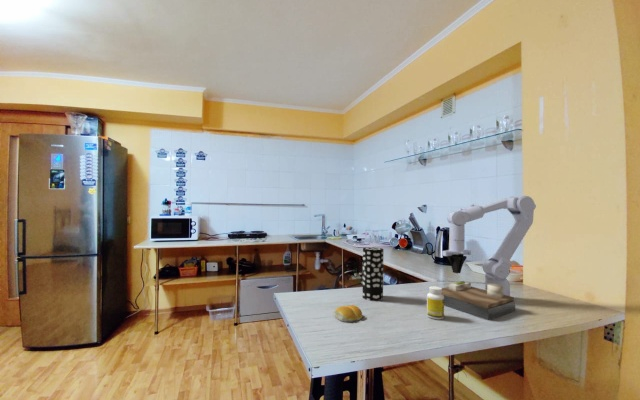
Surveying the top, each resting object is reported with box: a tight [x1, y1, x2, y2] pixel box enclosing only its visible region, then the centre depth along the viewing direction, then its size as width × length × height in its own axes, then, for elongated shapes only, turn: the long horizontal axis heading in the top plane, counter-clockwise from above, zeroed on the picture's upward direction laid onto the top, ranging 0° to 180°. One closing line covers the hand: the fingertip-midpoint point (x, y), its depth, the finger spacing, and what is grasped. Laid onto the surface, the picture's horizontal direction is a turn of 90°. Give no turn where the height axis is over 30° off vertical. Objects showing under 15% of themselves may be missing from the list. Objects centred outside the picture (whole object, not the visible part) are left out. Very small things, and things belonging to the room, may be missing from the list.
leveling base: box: [443, 295, 516, 321], centre depth 106 cm, size 18×21×4 cm
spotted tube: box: [361, 247, 384, 302], centre depth 115 cm, size 8×8×20 cm
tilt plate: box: [441, 280, 515, 308], centre depth 107 cm, size 17×20×5 cm
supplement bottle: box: [426, 285, 445, 320], centre depth 95 cm, size 5×5×10 cm
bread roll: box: [334, 304, 363, 323], centre depth 94 cm, size 8×9×4 cm
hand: (456, 272), depth 116 cm, fingers closed
